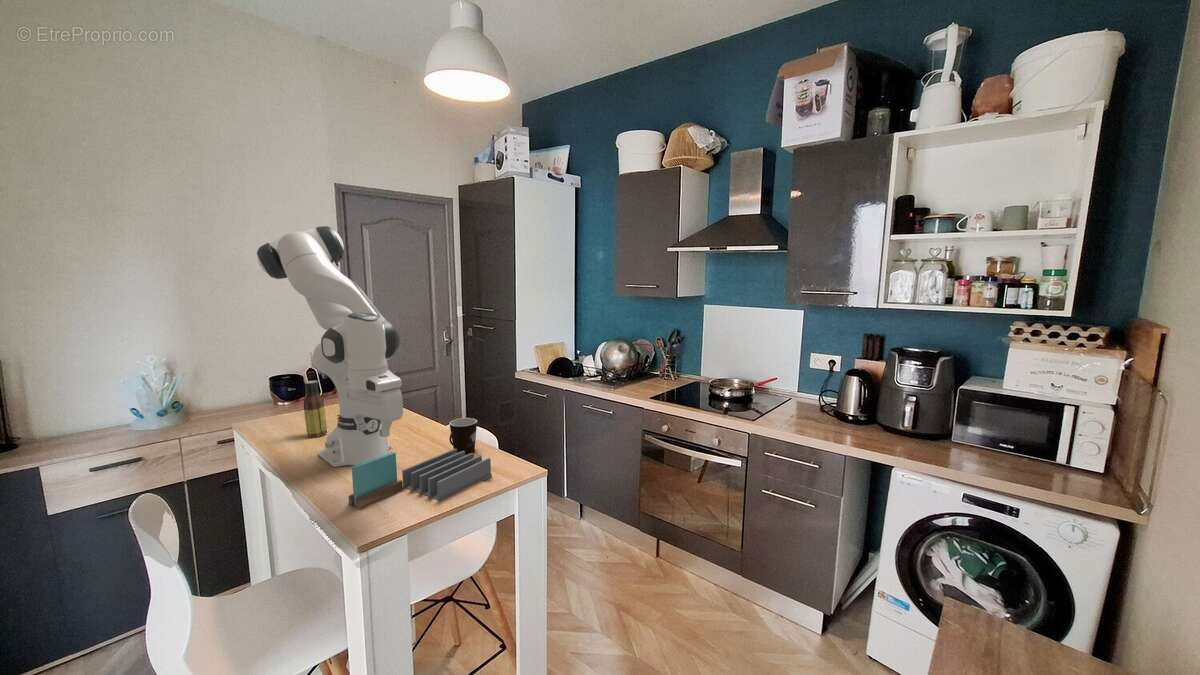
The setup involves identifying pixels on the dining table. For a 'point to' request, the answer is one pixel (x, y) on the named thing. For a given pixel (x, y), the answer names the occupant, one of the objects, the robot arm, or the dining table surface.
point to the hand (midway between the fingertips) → (373, 433)
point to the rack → (446, 474)
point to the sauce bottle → (314, 410)
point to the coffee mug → (463, 434)
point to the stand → (376, 495)
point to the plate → (374, 474)
